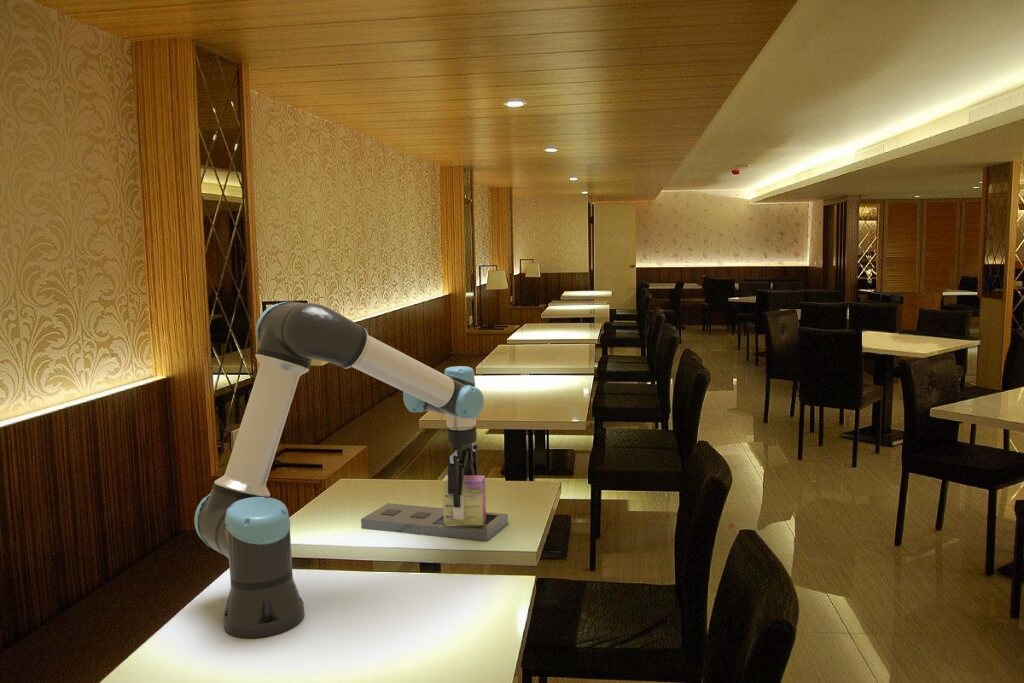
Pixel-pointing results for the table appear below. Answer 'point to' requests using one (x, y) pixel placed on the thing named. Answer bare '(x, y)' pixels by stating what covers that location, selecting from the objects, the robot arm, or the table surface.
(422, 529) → the plate with rectangular opening
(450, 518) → the box
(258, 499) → the robot arm
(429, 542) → the table surface
